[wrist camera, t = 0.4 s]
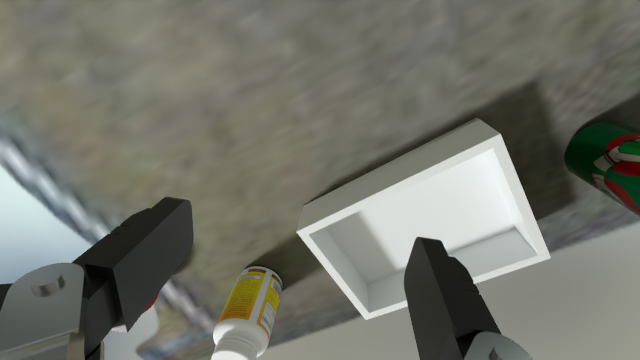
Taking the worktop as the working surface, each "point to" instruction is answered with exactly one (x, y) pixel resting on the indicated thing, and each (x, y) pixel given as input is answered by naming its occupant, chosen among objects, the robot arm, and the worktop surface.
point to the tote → (425, 217)
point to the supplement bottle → (248, 315)
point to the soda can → (608, 160)
